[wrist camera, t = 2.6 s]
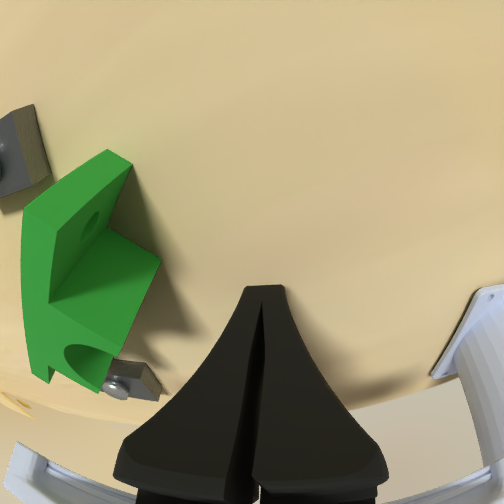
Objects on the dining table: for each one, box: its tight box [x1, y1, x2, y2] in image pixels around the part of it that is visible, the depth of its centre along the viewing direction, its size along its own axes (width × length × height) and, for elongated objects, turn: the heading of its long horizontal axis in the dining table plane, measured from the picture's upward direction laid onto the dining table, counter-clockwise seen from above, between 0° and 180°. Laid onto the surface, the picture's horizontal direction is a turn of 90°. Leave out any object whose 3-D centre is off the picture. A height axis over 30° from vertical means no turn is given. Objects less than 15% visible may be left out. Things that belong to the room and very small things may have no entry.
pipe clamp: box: [21, 149, 162, 394], centre depth 10 cm, size 11×4×5 cm, turn 145°
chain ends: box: [0, 104, 162, 402], centre depth 12 cm, size 5×18×2 cm, turn 6°
